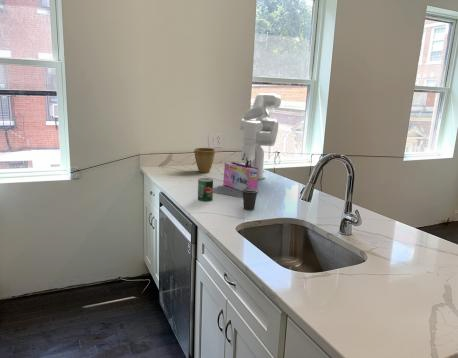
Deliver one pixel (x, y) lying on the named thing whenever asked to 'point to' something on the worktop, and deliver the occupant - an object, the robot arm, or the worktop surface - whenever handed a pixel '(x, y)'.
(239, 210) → the worktop surface
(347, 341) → the worktop surface
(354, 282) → the worktop surface
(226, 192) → the mat
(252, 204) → the dark tapered cylinder
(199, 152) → the plant pot
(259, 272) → the worktop surface
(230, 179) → the gum box
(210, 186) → the canned tomato
